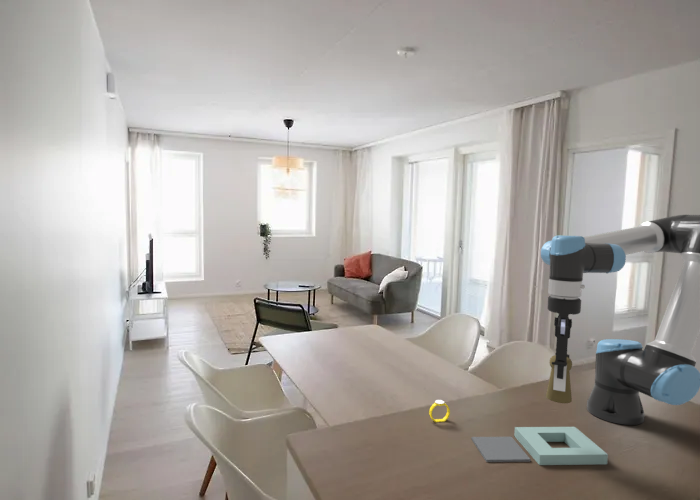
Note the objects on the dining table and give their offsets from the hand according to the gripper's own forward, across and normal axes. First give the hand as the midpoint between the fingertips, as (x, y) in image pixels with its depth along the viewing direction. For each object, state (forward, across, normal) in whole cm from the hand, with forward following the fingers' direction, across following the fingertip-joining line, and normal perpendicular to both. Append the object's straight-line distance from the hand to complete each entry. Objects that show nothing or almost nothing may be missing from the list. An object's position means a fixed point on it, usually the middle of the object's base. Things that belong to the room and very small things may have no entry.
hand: (559, 386), depth 110 cm
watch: (+17, +1, +31) cm, 35 cm away
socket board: (+17, 0, 0) cm, 17 cm away
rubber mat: (+17, -7, +13) cm, 22 cm away
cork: (+3, 0, 0) cm, 3 cm away
